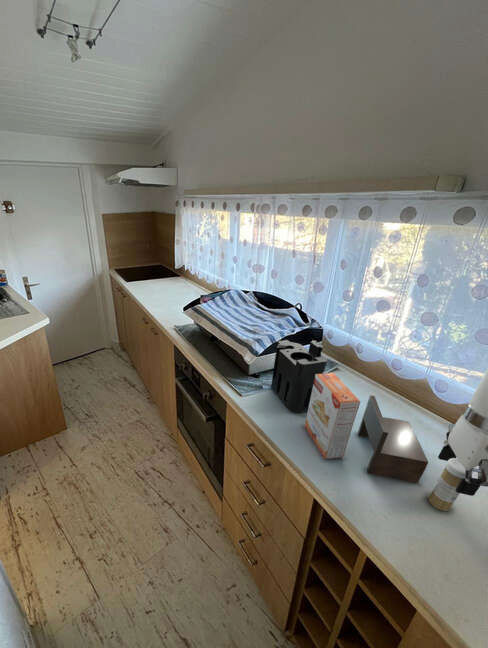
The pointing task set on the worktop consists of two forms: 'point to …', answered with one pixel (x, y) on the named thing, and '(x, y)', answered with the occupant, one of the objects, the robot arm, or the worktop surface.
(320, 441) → the cracker box
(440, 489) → the sprinkles bottle
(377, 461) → the spice shelf
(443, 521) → the worktop surface
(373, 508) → the worktop surface
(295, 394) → the black machined bracket
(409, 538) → the worktop surface
